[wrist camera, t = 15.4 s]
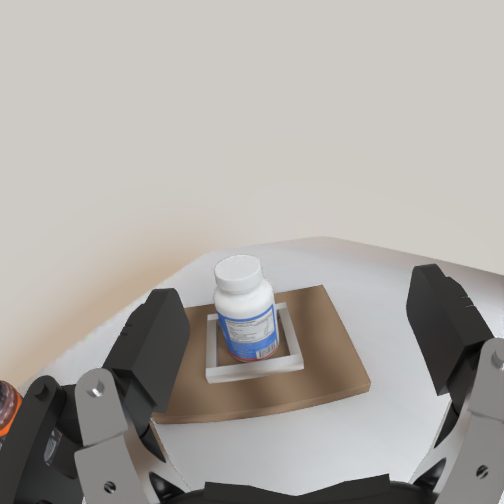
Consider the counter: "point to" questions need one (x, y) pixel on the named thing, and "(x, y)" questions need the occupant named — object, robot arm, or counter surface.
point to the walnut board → (266, 365)
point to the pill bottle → (246, 308)
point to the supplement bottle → (4, 410)
